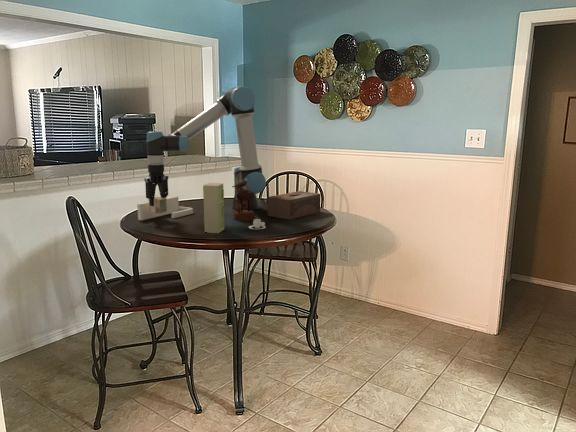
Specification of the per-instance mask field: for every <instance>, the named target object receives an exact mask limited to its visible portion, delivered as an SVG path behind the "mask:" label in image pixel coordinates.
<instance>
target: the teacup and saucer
mask: <svg viewBox="0 0 576 432" xmlns="http://www.w3.org/2000/svg"><path fill="white" fill-rule="evenodd" d="M253 227H254V228H253ZM248 228H249V229H250V230H254V229H259V230H263V229H266V222H264V221H262V220H261V219H260V218H255V219H254V220H252V225H249V226H248Z"/></svg>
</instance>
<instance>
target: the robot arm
mask: <svg viewBox="0 0 576 432" xmlns="http://www.w3.org/2000/svg"><path fill="white" fill-rule="evenodd" d="M255 104H256V95H255V93H254V91H253V90H252V89H251V88H250V87H248V86H244V85H239V86H236V87H232V88H230V89H228V90H227V91H226V92H225V93H224V94H223V95H221V96H220V97H218V98H217V99H216V101H215V103H214V104H213V105H211V106H210V107H208V108H207V109H205V110H204V111H202V112H201V113H199V114H198V115H196V116H195V117H194V118H192V119H191V120H189V121H188V122H186V123H185V124H184V125H182V126H180V127H179V128H178V129H176V130H175V131H174V132H172V133H169V134H168V135H164V134H163V132H162V131H148V132H146V152H147V164H148V165H147V171H148V177H144V182H145V183H144V185H145V198H146V199H147V200H149V199H150V206H151V212H153V213H156V199H154V197H156V196H155V195H156V189H157V188H158V191H159V195H160V196H159V197H163V198H168V196H169V176H168V175H165V174H164V172H165V164H164V163H165V157H164V155H165V154H164V152H181V153H182V152H187V151H188V150H189V148H190V141H189V140H192V138H194V137H195V136H197V135H199V134H200V133H202V132H203V131H204V130H206V129H207V128H208V127H210V126H211V125H213V124H214V123H215V122H217V121H218V120H220V119H221V118H223V117H224V116H227V117H228V116H229V115H230V114H231V117H233V118H234V119H235V120H234V121H235V127H236V133H237V141H238V149H239V156H240V163H241V165H240V166H237V167H235V168H234V171H233V176H234V177H233V178H234V180H233V183H234V185H233V186H235V185H236V184H238V183H240V182H243V181H244V180H246V181H247V184H246V185H247V187H246V186H244V187H242V188H240V191H242V190H243V189H244V188H245V189H246V188H247V190H249V191H253V192H254V197H253V199H250V200H253V201H251V202H252V203H253V205H250V210H251V211H254V210H259V209H260V203H259V200H258V198H257V195H258V194H260V193H261V192H262V191H264V189H265V188H266V184H267V181H266V177H265V175H264V174H263V167H262V165H261V164H259V160H258V153H257V144H256V136H255V129H254V123H253V122H254V121H253V115H254V114H255V107H254V106H255ZM157 186H158V187H157ZM236 188H237V187H234V196H233V199H232V203H231V209H232V210H234V211H235V207H236V202H234V200H236V192H237V191H239V188H237V190H236ZM237 200H238V199H237ZM245 201H246V200H245ZM239 204H241V203H240V202H237V206H239ZM242 204H243V200H242ZM247 204H248V200H247ZM238 208H239V207H238ZM243 208H244V209H243V210H248V205H247V208H245V207H244V206H243Z"/></svg>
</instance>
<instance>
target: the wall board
mask: <svg viewBox="0 0 576 432" xmlns="http://www.w3.org/2000/svg"><path fill="white" fill-rule="evenodd" d="M166 199H167V212H165V213H160V214H158V213H152V212H149V201H146V202H141V203H137V205H136V206H137V220H138V221H145V220H149V219H154V218H157V217H163V216H166V215H170V214H171V215H170V216H171V219H176V218H181V217H184V216H188V215H193V214H194V209H193V207H189V206H188V207H186V206H179V204H180V203H179V196H171V197H166Z"/></svg>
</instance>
